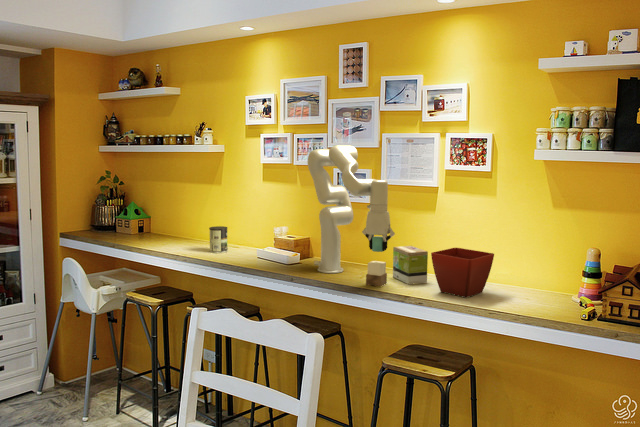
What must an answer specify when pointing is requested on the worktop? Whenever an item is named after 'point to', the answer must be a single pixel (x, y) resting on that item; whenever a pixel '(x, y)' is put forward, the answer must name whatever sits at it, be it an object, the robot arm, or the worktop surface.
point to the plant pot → (462, 270)
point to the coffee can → (218, 239)
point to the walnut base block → (376, 279)
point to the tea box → (410, 264)
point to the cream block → (376, 268)
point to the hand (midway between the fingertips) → (378, 249)
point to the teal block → (377, 244)
